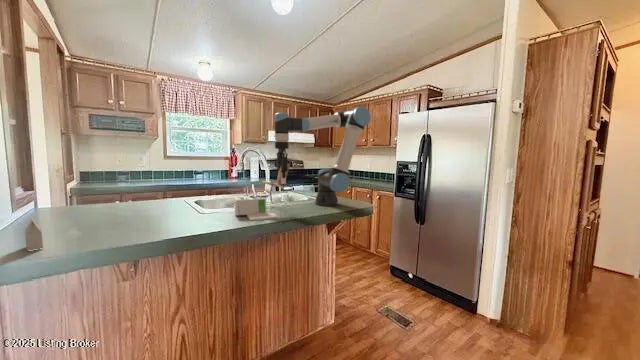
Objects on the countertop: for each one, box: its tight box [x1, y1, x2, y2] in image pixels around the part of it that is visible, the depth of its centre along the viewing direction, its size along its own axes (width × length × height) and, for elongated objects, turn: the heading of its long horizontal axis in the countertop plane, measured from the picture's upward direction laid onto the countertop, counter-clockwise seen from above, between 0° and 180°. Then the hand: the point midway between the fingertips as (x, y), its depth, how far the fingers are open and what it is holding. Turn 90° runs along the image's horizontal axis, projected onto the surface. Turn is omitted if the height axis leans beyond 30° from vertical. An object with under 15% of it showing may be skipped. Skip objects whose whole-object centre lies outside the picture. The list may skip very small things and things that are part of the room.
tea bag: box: [24, 217, 44, 251], centre depth 93 cm, size 4×7×10 cm, turn 48°
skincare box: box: [234, 198, 267, 216], centre depth 147 cm, size 8×7×16 cm
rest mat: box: [246, 212, 279, 222], centre depth 142 cm, size 14×9×1 cm, turn 114°
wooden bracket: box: [261, 162, 291, 189], centre depth 153 cm, size 12×6×14 cm, turn 115°
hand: (282, 183), depth 155 cm, fingers closed on wooden bracket, 4 cm apart
